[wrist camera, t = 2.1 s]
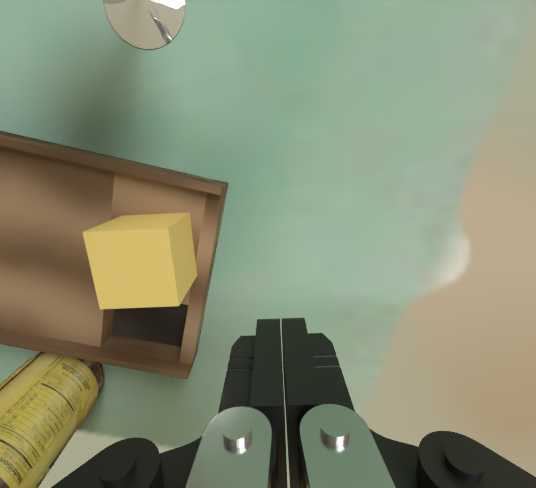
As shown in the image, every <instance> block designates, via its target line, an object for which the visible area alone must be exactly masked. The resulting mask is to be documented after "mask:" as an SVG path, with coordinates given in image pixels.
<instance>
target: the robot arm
mask: <svg viewBox="0 0 536 488" xmlns="http://www.w3.org/2000/svg"><path fill="white" fill-rule="evenodd" d="M282 343H283V369H284V388H285V406H286V423H287V441H288V458H289V475H290V488H536V477H534V476H533V475H531V474H529V473H528V472H526V471H525V470H523V469H521V468H520V467H518V466H516V465H515V464H513V463H511V462H510V461H508V460H506V459H505V458H503V457H501V456H500V455H498V454H497V453H495V452H493V451H492V450H490V449H488V448H486V447H485V446H484V445H482V444H480V443H478V442H477V441H475V440H473V439H471V438H469V437H467V436H464V435H462V434H458V433H455V432H450V431H436V432H432V433H430V434H428V435H426V436H425V437H424V438H423V439H422V441H421V442H420V445H419V447H417V446H413V445H409V444H406V443H402V442H398V441H394V440H391V439H388V438H385V437H383V436H381V435H379V434H377V433H375V432H373V431H372V430H370V429H369V427H368V426H367V424H366V422H365V421H364V420H363V418H361V417H360V416H359V415H358V414H357V413H356V412H355V410H354V407H353V404H352V401H351V398H350V395H349V392H348V389H347V386H346V383H345V380H344V377H343V374H342V371H341V368H340V366H339V362H338V359H337V357H336V353H335V350H334V347H333V344H332V342H331V341H330V340H329V339H328V338H327V337H326V336H325V335H324V334H323V333H313V334H308V333H307V328H306V323H305V319H304V318H282ZM51 488H287V467H286V440H285V413H284V391H283V372H282V353H281V334H280V319H257V327H256V336H240V338H239V339H238V340H237V341H236V342H235V343H234V345H233V346H232V349H231V354H230V361H229V364H228V370H227V373H226V378H225V383H224V388H223V392H222V397H221V402H220V407H219V412H218V414H217V415H216V416H215V417H214V418H212V420H211V421H210V422H209V423H208V425H207V426H206V428H205V430H204V433H203V436H201V437H200V438H198V439H197V440H195V441H193V442H192V443H190V444H187V445H184V446H182V447H179V448H176V449H172V450H169V451H166V452H163V453H160V454H159V451H158V448H157V447H156V445H155V444H154V443H153V442H151V441H150V440H147V439H144V438H128V439H125V440H121V441H119V442H116V443H114V444H112V445H110V446H108V447H107V448H105V449H104V450H102V451H101V452H99V453H98V454H97V455H95V456H94V457H92V458H91V459H90V460H88V461H87V462H86V463H84V464H83V465H81V466H80V467H79V468H77V469H76V470H75V471H73V472H72V473H70V474H69V475H68V476H66V477H65V478H63V479H62V480H61V481H60V482H58V483H57V484H55V485H54V486H53V487H51Z"/></svg>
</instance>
